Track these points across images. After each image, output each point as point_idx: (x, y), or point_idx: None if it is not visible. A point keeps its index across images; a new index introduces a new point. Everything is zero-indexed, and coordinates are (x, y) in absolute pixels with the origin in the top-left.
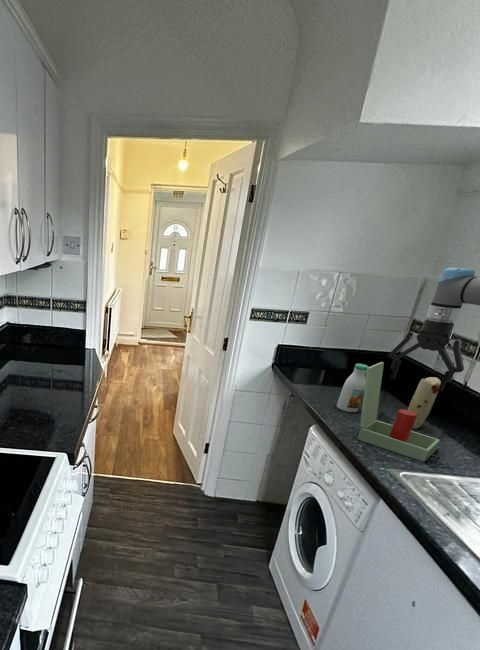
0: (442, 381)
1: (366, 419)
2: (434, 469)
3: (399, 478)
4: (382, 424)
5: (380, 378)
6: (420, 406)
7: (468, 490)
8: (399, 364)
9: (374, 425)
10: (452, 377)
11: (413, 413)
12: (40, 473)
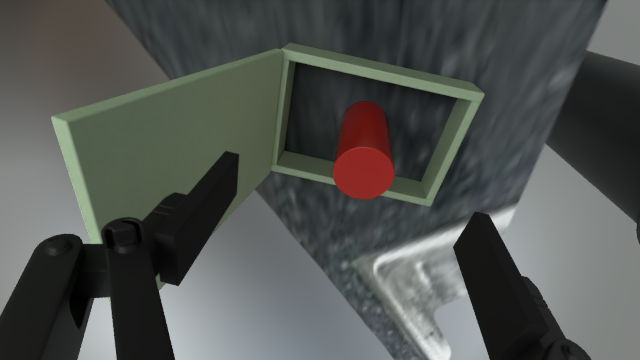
0: (473, 298)
1: (264, 158)
2: (441, 214)
3: (373, 281)
4: (311, 63)
5: (172, 113)
6: None
7: None
8: (192, 225)
9: (291, 64)
10: (544, 312)
11: (381, 171)
12: None
